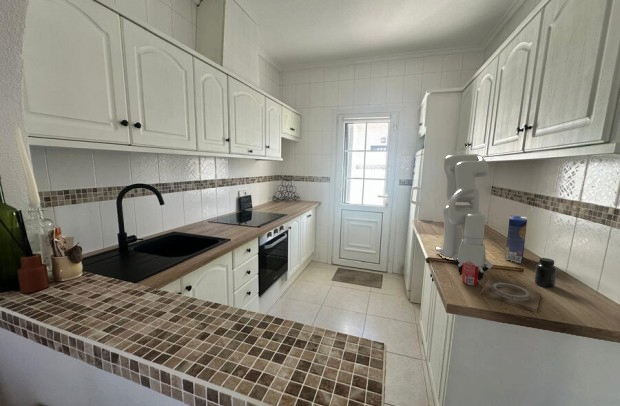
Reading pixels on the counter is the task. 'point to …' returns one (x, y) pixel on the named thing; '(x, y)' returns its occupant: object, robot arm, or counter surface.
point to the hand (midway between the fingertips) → (470, 276)
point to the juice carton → (516, 238)
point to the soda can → (470, 273)
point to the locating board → (511, 295)
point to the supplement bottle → (545, 273)
